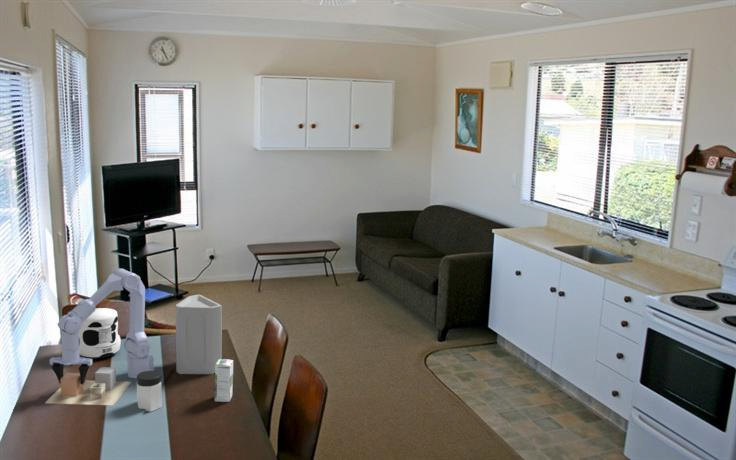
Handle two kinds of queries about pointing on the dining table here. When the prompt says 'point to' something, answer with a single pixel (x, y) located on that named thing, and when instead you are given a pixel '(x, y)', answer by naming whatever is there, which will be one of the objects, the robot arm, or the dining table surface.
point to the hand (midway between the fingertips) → (72, 382)
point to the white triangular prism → (198, 335)
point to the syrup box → (223, 380)
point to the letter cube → (97, 390)
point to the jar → (149, 390)
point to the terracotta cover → (71, 384)
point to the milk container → (99, 334)
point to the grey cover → (106, 377)
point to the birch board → (85, 398)
